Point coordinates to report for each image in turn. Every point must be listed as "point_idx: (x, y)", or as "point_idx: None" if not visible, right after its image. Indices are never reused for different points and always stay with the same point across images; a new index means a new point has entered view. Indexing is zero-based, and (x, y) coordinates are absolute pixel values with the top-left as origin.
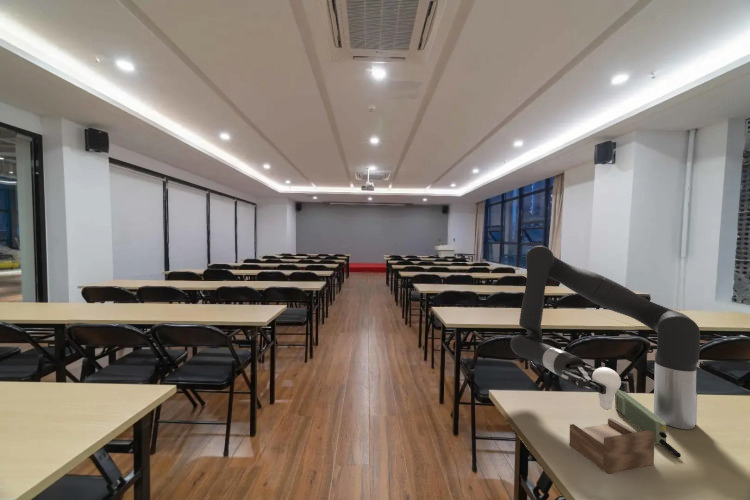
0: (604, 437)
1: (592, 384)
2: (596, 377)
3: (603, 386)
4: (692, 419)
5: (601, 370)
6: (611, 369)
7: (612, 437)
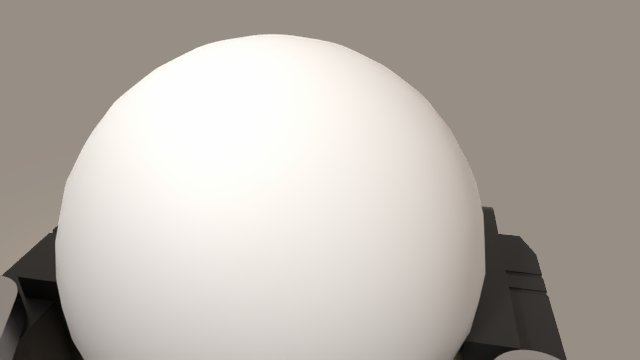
0: None
1: (549, 329)
2: (483, 224)
3: (486, 208)
4: None
5: (398, 82)
6: (219, 41)
7: None
